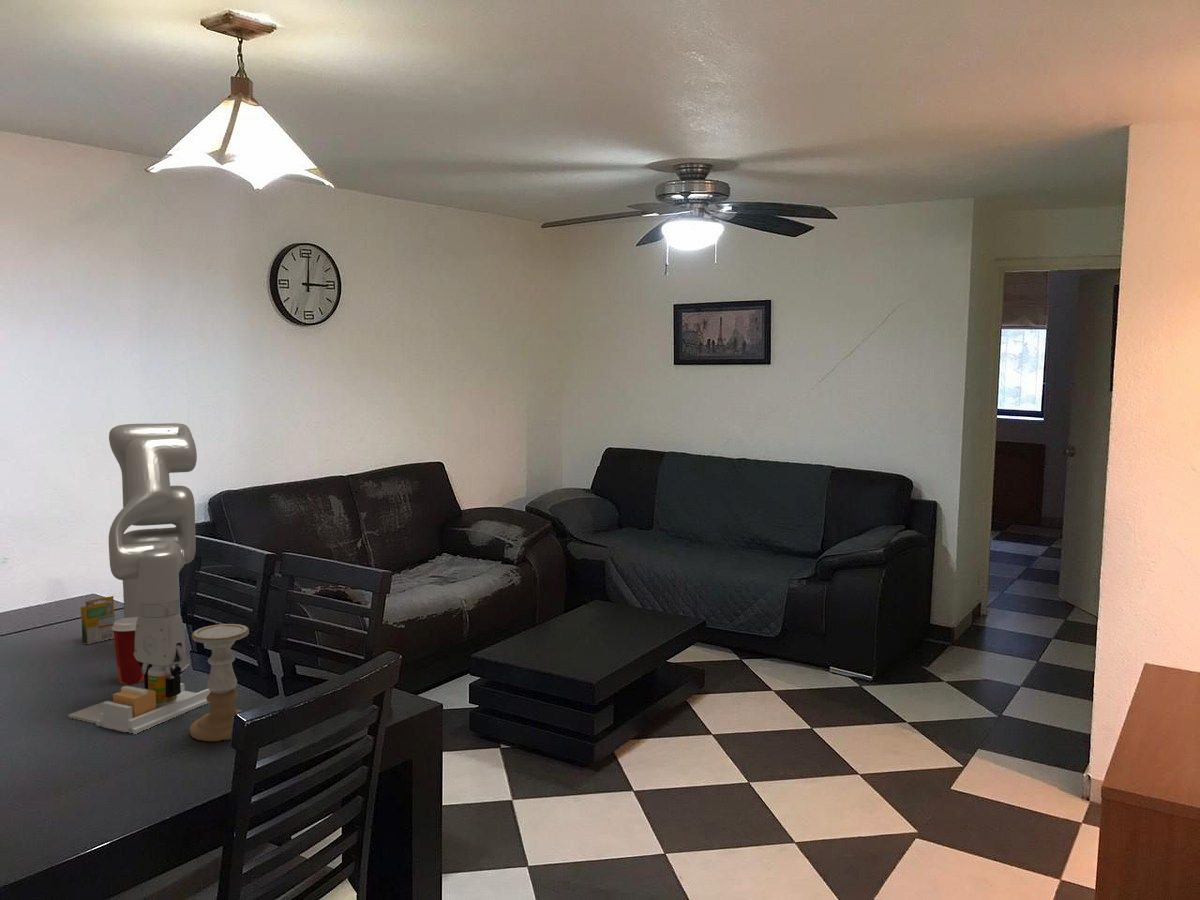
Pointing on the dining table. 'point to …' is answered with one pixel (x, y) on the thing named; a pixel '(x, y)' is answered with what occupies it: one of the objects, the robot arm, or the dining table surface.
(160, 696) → the supplement bottle
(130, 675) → the paper cup
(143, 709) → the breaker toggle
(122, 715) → the guard channel
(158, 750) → the dining table surface
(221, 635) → the candle holder
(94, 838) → the dining table surface
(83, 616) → the crayon box
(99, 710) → the pad
